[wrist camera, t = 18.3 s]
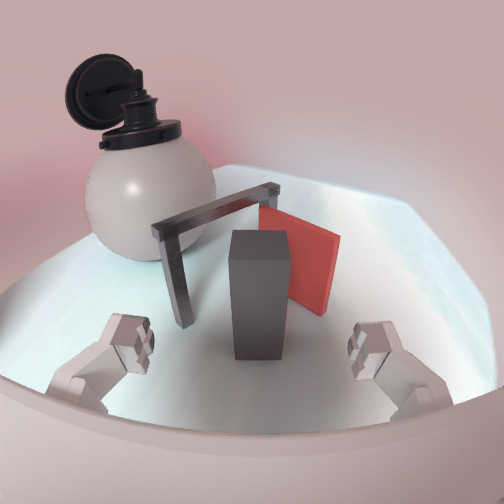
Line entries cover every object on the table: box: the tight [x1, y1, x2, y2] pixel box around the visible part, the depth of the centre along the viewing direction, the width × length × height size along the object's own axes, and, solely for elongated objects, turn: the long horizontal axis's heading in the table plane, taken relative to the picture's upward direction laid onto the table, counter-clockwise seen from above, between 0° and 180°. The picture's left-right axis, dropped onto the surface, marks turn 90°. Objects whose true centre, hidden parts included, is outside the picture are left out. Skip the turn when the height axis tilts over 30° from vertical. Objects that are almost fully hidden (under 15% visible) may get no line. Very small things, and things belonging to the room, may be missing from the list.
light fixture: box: [65, 54, 216, 261], centre depth 36 cm, size 20×23×33 cm
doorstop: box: [228, 230, 291, 360], centre depth 26 cm, size 4×4×12 cm
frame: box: [151, 182, 280, 329], centre depth 32 cm, size 16×2×12 cm, turn 134°
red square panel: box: [259, 205, 340, 316], centre depth 32 cm, size 10×1×10 cm, turn 44°
